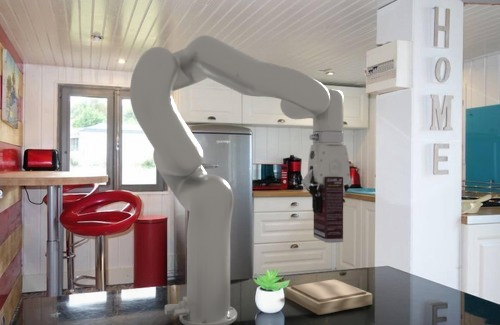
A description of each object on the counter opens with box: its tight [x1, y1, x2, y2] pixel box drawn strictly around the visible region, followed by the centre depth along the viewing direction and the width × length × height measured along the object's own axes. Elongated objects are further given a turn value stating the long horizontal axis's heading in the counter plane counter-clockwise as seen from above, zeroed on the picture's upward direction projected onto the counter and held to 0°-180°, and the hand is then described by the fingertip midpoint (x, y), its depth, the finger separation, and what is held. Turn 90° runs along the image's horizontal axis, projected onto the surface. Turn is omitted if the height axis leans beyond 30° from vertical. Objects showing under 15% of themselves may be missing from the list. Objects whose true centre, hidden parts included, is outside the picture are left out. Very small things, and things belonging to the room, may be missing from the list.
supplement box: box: [313, 177, 344, 244], centre depth 102 cm, size 9×5×16 cm, turn 12°
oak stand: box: [285, 279, 373, 315], centre depth 102 cm, size 16×14×3 cm
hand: (327, 211), depth 102 cm, fingers closed on supplement box, 5 cm apart
